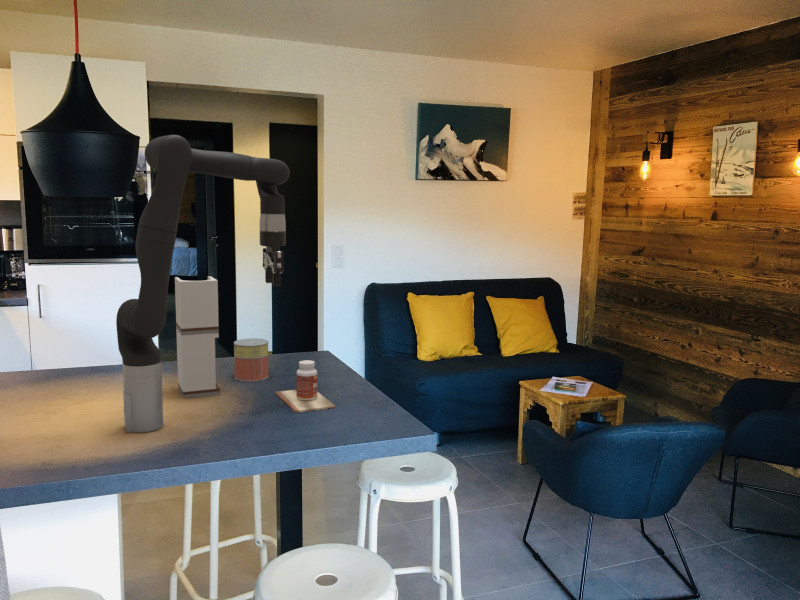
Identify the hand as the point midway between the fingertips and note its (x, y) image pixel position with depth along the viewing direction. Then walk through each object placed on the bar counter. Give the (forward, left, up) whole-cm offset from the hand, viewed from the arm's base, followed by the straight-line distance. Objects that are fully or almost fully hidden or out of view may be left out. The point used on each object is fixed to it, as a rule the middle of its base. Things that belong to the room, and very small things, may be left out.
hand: (273, 284), depth 192 cm
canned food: (-1, +24, -34) cm, 42 cm away
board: (+7, -8, -34) cm, 36 cm away
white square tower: (-20, +13, -34) cm, 42 cm away
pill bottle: (+8, -8, -34) cm, 35 cm away
